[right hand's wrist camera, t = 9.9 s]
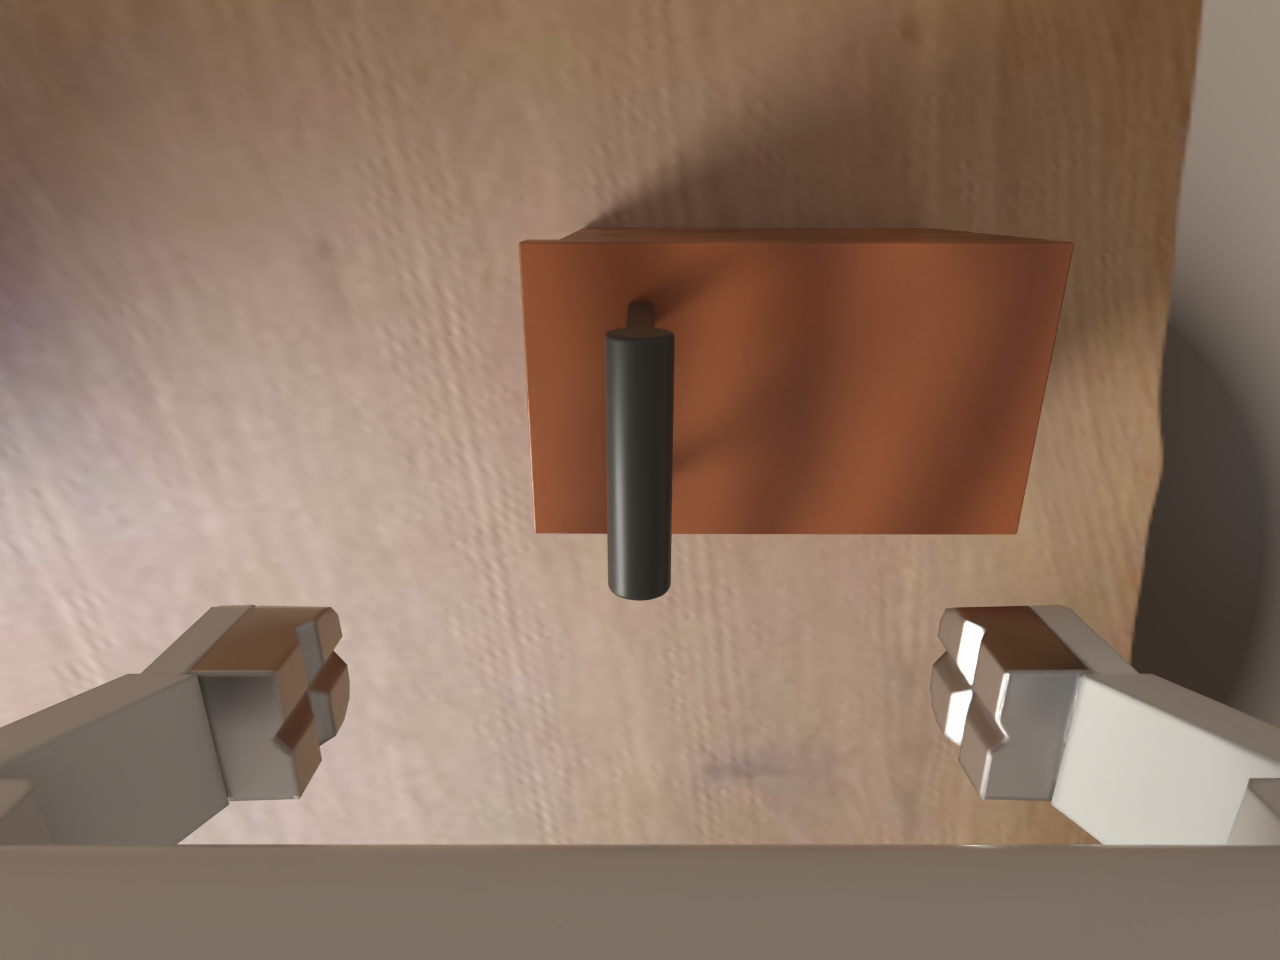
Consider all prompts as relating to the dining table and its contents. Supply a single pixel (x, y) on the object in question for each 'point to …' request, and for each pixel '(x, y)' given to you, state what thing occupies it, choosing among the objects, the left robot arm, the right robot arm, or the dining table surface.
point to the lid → (782, 388)
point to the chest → (779, 234)
